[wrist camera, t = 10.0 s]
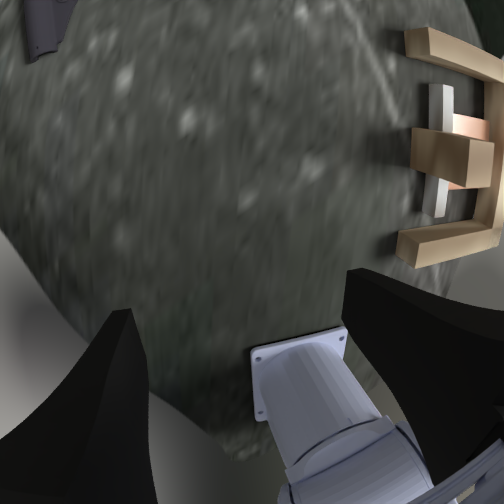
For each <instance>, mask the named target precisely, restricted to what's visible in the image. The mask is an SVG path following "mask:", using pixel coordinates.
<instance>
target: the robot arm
mask: <svg viewBox="0 0 504 504" xmlns="http://www.w3.org/2000/svg"><path fill="white" fill-rule="evenodd" d="M341 319H342V321H343V323H344V325H345V327H346V328H347V329H346V328H345V327H338V328H334V329H331V330H327V331H323V332H319V333H315V334H311V335H307V336H303V337H299V338H295V339H290V340H286V341H282V342H277V343H273V344H268V345H264V346H259V347H255V348H253V349H252V350H251V353H250V355H251V370H252V385H253V399H254V414H255V419H256V421H264V420H267V421H268V424H269V426H270V429H271V431H272V434H273V436H274V439H275V441H276V444H277V446H278V449H279V451H280V454H281V456H282V459H283V461H284V464H285V466H286V467H287V469H286V470H285V472H286V475H287V478H288V480H289V482H288V483H286V484H284V485H283V486H282V487H281V489H280V494H279V496H278V504H458V503H457V501H456V498H457V497H458V496H459V495H460V494H462V493H463V492H464V491H466V490H467V489H468V488H470V487H471V486H472V485H473V484H475V483H476V484H475V491H474V492H473V493H471V494H470V495H469V496H468V497H466V498H465V499H464V500H463V501H462V502H461V503H459V504H504V311H500V310H493V309H487V308H481V307H476V306H472V305H468V304H464V303H460V302H457V301H453V300H449V299H446V298H443V297H440V296H437V295H434V294H431V293H429V292H426V291H423V290H420V289H418V288H415V287H413V286H410V285H408V284H405V283H403V282H400V281H398V280H395V279H393V278H390V277H388V276H385V275H382V274H380V273H377V272H374V271H371V270H368V269H364V268H358V269H353V270H348V271H347V276H346V285H345V293H344V301H343V309H342V317H341ZM347 330H348V331H347ZM348 332H349V334H350V336H351V337H352V339H353V341H354V342H355V343H356V345H357V346H358V347H359V349H360V350H361V351H362V353H363V354H364V355H365V357H366V358H367V359H368V361H369V362H370V363H371V365H372V366H373V367H374V368H375V370H376V371H377V372H378V374H379V375H380V376H381V378H382V379H383V380H384V382H385V383H386V384H387V386H388V387H389V389H390V390H391V392H392V393H393V395H394V397H395V399H396V400H397V402H398V404H399V406H400V407H401V409H402V411H403V413H404V415H405V417H406V419H407V421H408V422H406V421H403V420H402V421H399V422H398V423H396V424H395V425H394V424H393V423H392V421H391V420H390V418H389V417H388V416H387V415H385V416H383V417H382V416H381V414H380V413H379V411H378V410H377V409H376V407H375V406H374V404H373V403H372V401H371V400H370V399H369V397H368V396H367V394H366V393H365V391H364V390H363V389H362V387H361V386H360V384H359V383H358V381H357V380H356V379H355V377H354V376H353V374H352V373H351V371H350V370H349V369H348V367H347V366H346V364H345V363H344V361H343V355H344V350H345V344H346V338H347V333H348ZM341 336H342V337H341ZM340 337H341V338H340ZM257 357H259V358H257ZM256 358H257V359H256ZM148 396H149V381H148V370H147V360H146V355H145V352H144V349H143V346H142V343H141V339H140V336H139V333H138V330H137V327H136V323H135V320H134V317H133V313H132V310H131V308H130V309H123V310H116V311H112V313H111V314H110V316H109V317H108V318H107V320H106V321H105V323H104V324H103V326H102V327H101V329H100V330H99V332H98V333H97V335H96V336H95V338H94V339H93V341H92V342H91V344H90V345H89V346H88V348H87V349H86V351H85V352H84V354H83V355H82V356H81V358H80V359H79V361H78V362H77V363H76V364H75V366H74V367H73V369H72V370H71V371H70V372H69V374H68V375H67V376H66V378H65V379H64V380H63V381H62V382H61V383H60V385H59V386H58V387H57V388H56V389H55V390H54V391H53V392H52V393H51V395H50V396H49V397H48V398H47V399H46V400H45V401H44V402H43V403H42V404H41V405H40V406H39V407H38V408H37V409H36V410H34V411H33V413H31V414H30V415H29V416H28V417H27V418H26V419H25V420H24V421H23V422H22V423H20V424H19V425H18V426H17V427H16V428H14V429H13V430H12V431H11V432H9V433H8V434H7V435H5V436H4V437H3V438H1V439H0V504H158V502H157V498H156V492H155V487H154V482H153V476H152V469H151V463H150V456H149V443H148V400H149V397H148Z"/></svg>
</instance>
